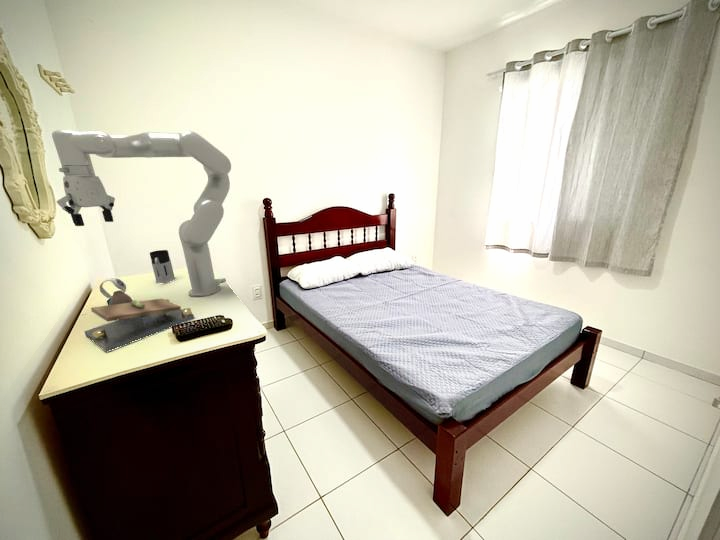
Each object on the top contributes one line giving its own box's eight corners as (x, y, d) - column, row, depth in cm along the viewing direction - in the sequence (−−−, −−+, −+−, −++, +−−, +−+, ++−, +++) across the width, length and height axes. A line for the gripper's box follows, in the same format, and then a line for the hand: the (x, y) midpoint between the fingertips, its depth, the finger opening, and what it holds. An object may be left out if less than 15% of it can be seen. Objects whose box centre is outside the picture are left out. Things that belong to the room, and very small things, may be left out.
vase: (110, 318, 104) (103, 296, 101) (115, 311, 110) (108, 290, 107) (133, 314, 107) (127, 292, 104) (137, 307, 113) (131, 286, 110)
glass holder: (177, 277, 150) (170, 249, 145) (172, 285, 137) (165, 255, 133) (157, 279, 146) (150, 251, 142) (151, 288, 134) (142, 257, 129)
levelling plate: (161, 302, 108) (161, 294, 108) (180, 310, 101) (180, 301, 100) (91, 312, 91) (91, 302, 91) (107, 322, 84) (107, 312, 83)
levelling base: (168, 307, 113) (165, 294, 111) (194, 318, 102) (191, 304, 101) (85, 335, 93) (80, 320, 91) (107, 352, 83) (101, 335, 81)
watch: (128, 305, 116) (120, 279, 112) (103, 309, 113) (94, 282, 109) (132, 300, 121) (125, 275, 117) (108, 304, 117) (100, 278, 114)
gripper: (57, 171, 86) (75, 227, 91) (114, 172, 102) (127, 220, 107) (38, 171, 88) (57, 227, 93) (97, 172, 104) (111, 220, 109)
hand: (95, 223), depth 100 cm, fingers open, 9 cm apart
